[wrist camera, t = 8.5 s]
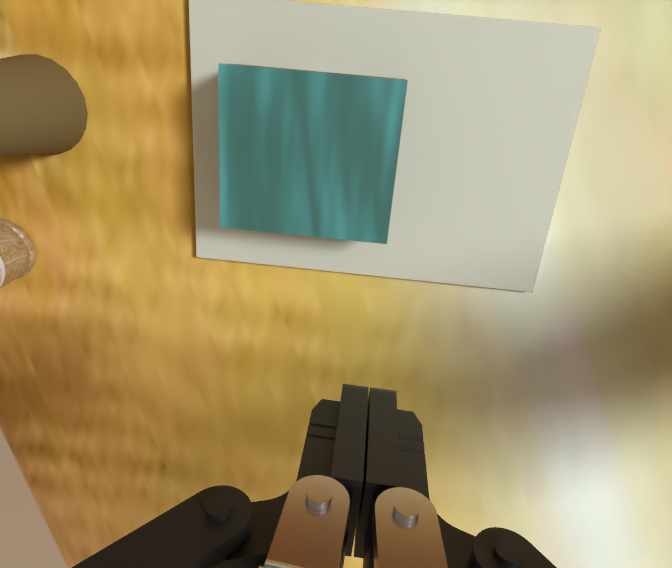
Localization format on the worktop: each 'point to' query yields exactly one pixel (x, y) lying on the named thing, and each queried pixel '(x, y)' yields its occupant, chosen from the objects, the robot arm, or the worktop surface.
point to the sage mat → (412, 132)
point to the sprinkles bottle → (14, 252)
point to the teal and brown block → (308, 151)
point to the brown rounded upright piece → (39, 107)
